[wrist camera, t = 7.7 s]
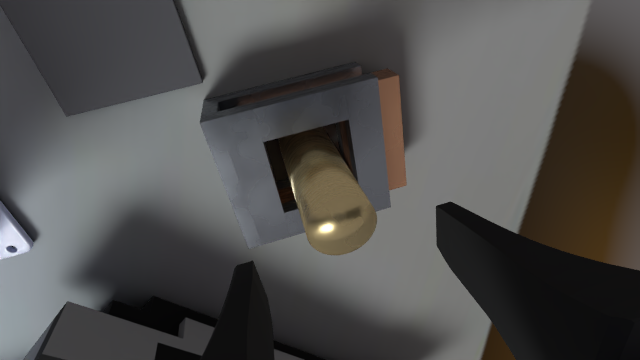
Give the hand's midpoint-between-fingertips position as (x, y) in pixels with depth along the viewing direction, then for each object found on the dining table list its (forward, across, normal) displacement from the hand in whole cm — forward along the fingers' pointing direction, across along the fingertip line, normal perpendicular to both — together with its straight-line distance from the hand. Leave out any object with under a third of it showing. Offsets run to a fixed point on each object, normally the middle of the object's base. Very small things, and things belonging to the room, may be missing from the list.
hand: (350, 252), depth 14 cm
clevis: (+10, 0, 0) cm, 10 cm away
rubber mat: (+10, +8, -9) cm, 16 cm away
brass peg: (+10, 0, 0) cm, 10 cm away
